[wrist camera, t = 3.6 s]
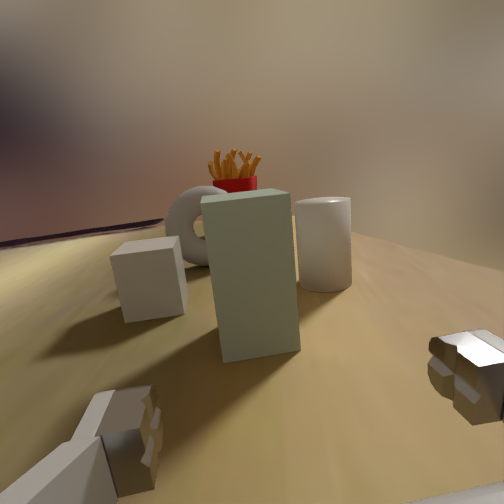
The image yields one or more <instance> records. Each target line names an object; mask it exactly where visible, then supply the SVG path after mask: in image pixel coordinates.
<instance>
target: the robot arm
mask: <svg viewBox="0 0 504 504" xmlns="http://www.w3.org/2000/svg"><path fill="white" fill-rule="evenodd" d="M429 352H430V353H431V354H432V355H433V356H432V358H431V359H430V361H429V362H428V376H429V379H430V382H431V384H432V385H433V387H434V388H435V390H436V391H437V392H438V393H439V394H440V395H441V396H443V397H445V398H448V399H450V400H452V401H453V407H454V408H455V409H456V410H457V411H458V412H459V413H460V414H461V415H462V416H463V417H464V418H465V419H466V420H467V421H468V422H469V423H470V424H471V425H472V426H473V425H479V424H485V423H491V422H497V421H503V423H504V340H502V339H501V338H499V337H497V336H495V335H494V334H492V333H490V332H488V331H487V330H484V329H479V328H478V329H473V330H468V331H463V332H460V333H455V334H449V335H444V336H438V337H433V338H431V340H430V342H429ZM157 400H158V394H157V390H156V387H155V385H154V384H150V385H144V386H137V387H130V388H123V389H117V390H110V391H104V392H98V393H96V394H95V395H94V396H93V398H92V400H91V401H90V403H89V405H88V407H87V409H86V411H85V413H84V415H83V417H82V419H81V421H80V422H79V424H78V426H77V428H76V430H75V432H74V434H73V436H72V438H71V440H70V441H69V442H63V443H62V444H61V445H60V446H58V447H57V448H56V449H55V450H53V451H52V452H51V453H50V454H48V455H47V456H46V457H45V458H44V459H42V460H41V461H40V462H39V463H37V464H36V465H35V466H34V467H32V468H31V469H30V470H29V471H28V472H26V473H25V474H24V475H23V476H21V477H20V478H19V479H18V480H16V481H15V482H14V483H13V484H11V485H10V486H9V487H8V488H7V489H5V490H4V491H3V492H2V493H0V504H116V502H117V501H118V498H120V497H124V496H129V495H133V494H137V493H142V492H146V491H150V490H154V489H155V483H156V478H157V472H158V467H159V462H158V458H157V454H158V452H159V451H160V450H161V449H162V443H163V418H162V413H161V410H160V409H159V408H157V407H156V404H157ZM402 504H504V481H501V482H496V483H492V484H487V485H483V486H478V487H474V488H469V489H465V490H460V491H456V492H451V493H447V494H442V495H438V496H433V497H429V498H424V499H420V500H415V501H411V502H406V503H402Z"/></svg>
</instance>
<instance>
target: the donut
mask: <svg viewBox="0 0 504 504" xmlns="http://www.w3.org/2000/svg"><path fill="white" fill-rule="evenodd" d="M226 193H227V192H226V191H224V190H222V189H219V188H216V187H214V186H198V187H195V188H191V189H188V190H187V191H185V192H184V193H182V194H181V195H180V196H178V197H177V198H176V199H175V201H174V202H173V204H172V205H171V206H170V208H169V211H168V214H167V217H166V220H165V231H166V236H167V237H170V236H178V235H179V240H180V246H181V252H182V259H184V260H185V261H187V262H188V263H192V264H195V265H199V266H209V261H208V254H207V247H206V240H203V239H200V238H199V237H197V235H196V234H195V233H194V230H193V224H194V221H195V220H196V218H197V217H198V216H200V215H201V214H202V212H201V205H200V202H201V199H202V196H208V195H217V194H226Z"/></svg>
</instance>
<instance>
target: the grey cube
mask: <svg viewBox="0 0 504 504" xmlns="http://www.w3.org/2000/svg"><path fill="white" fill-rule="evenodd" d="M110 261H111V265H112V270H113V274H114V278H115V283H116V287H117V291H118V296H119V300H120V305H121V309H122V313H123V318H124V322H125V323H130V322H137V321H143V320H150V319H157V318H163V317H170V316H177V315H183V314H185V308H186V302H187V296H188V289H187V283H186V277H185V271H184V265H183V259H182V252H181V246H180V240H179V235H178V236H170V237H162V238H154V239H146V240H138V241H130V242H125V243H124V244H122V245H121V246H120V247H119V248H118V249H117V250H116V251H114V252H113V253H112V254H111V255H110Z"/></svg>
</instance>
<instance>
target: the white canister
mask: <svg viewBox="0 0 504 504" xmlns="http://www.w3.org/2000/svg"><path fill="white" fill-rule="evenodd" d="M294 207H295V223H296V239H297V255H298V271H299V284H300V286H301V287H302V288H304V289H306V290H309V291H313V292H324V293H325V292H336V291H341V290H344V289H347V288H348V287H350V286H351V284H352V267H351V210H350V209H351V207H350V198H347V197H322V198H312V199H305V200H299V201H296V202H294Z"/></svg>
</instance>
